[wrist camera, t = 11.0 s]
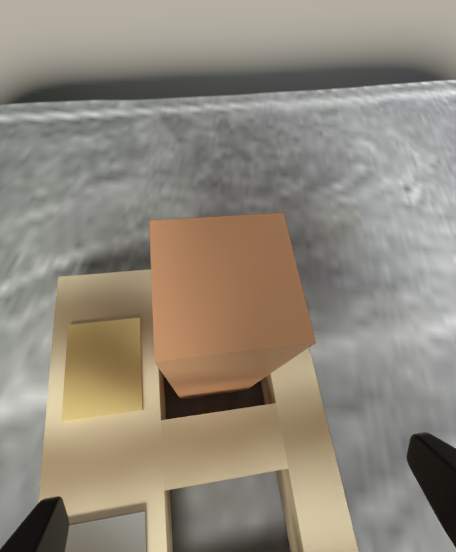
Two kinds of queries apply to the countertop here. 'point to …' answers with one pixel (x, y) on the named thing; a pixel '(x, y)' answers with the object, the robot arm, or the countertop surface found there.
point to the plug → (225, 301)
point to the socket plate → (170, 431)
